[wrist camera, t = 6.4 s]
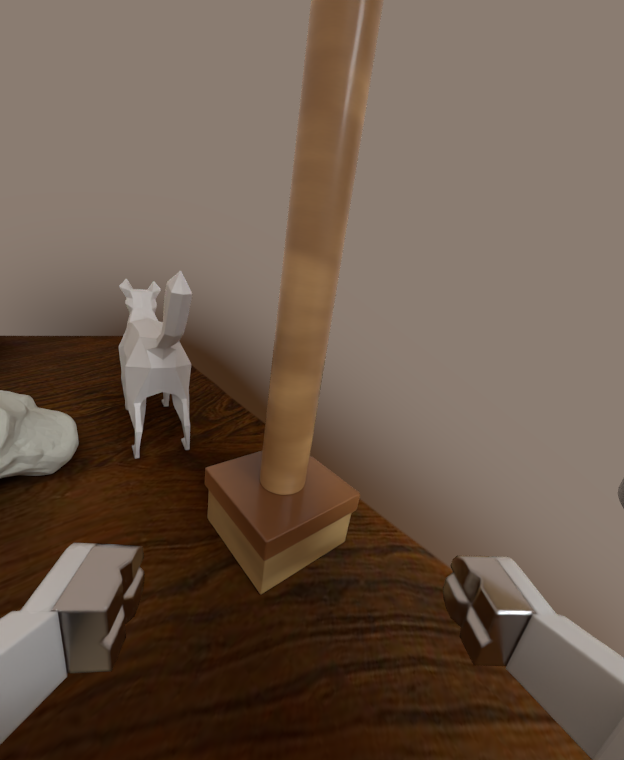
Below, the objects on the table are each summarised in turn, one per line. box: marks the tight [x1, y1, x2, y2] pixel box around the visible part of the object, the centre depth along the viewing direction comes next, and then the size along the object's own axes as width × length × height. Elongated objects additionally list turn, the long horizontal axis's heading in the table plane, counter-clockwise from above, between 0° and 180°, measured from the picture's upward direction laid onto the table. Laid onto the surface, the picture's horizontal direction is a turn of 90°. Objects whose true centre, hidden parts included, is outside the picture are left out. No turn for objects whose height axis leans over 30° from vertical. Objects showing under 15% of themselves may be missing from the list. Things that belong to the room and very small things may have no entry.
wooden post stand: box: [205, 0, 383, 595], centre depth 15 cm, size 6×6×28 cm
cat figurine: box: [119, 270, 192, 458], centre depth 26 cm, size 4×20×14 cm, turn 32°
